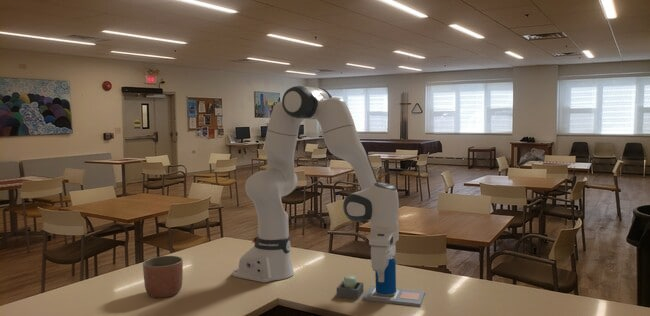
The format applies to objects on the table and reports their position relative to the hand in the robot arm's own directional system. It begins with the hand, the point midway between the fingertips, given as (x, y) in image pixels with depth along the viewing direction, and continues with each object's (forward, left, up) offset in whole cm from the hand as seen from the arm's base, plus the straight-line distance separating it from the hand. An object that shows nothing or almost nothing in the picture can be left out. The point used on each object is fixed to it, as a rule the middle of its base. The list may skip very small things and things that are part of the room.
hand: (384, 276), depth 152 cm
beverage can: (0, 0, -6) cm, 6 cm away
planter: (-70, -19, -7) cm, 73 cm away
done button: (-11, -2, -4) cm, 12 cm away
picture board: (+3, 0, -6) cm, 7 cm away
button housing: (-11, -2, -6) cm, 13 cm away
